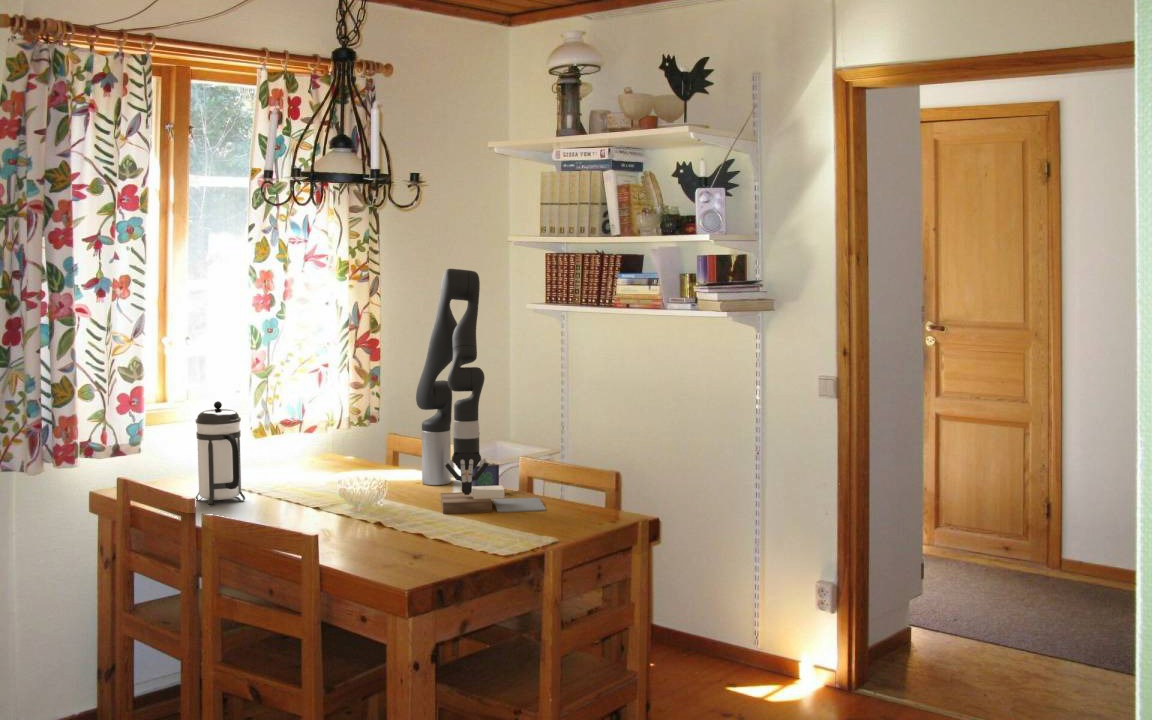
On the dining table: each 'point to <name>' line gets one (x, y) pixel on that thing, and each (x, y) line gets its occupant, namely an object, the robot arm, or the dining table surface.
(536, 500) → the mat
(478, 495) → the tile
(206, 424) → the coffee press
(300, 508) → the dining table surface
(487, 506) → the board
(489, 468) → the flask
